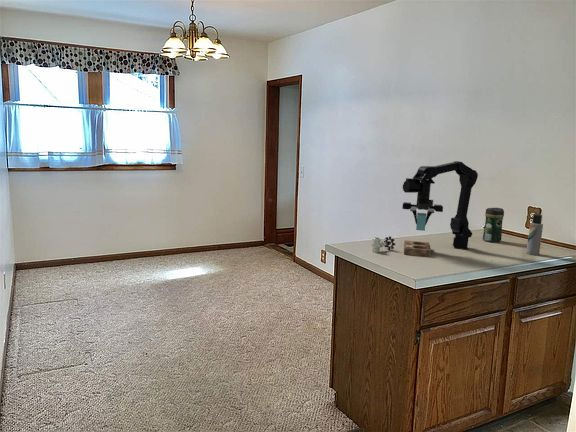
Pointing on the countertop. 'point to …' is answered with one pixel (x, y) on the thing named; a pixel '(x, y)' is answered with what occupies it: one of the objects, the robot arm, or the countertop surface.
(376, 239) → the valve
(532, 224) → the lotion bottle
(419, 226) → the plug
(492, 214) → the coffee jar
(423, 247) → the socket plate
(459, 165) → the robot arm
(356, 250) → the countertop surface
